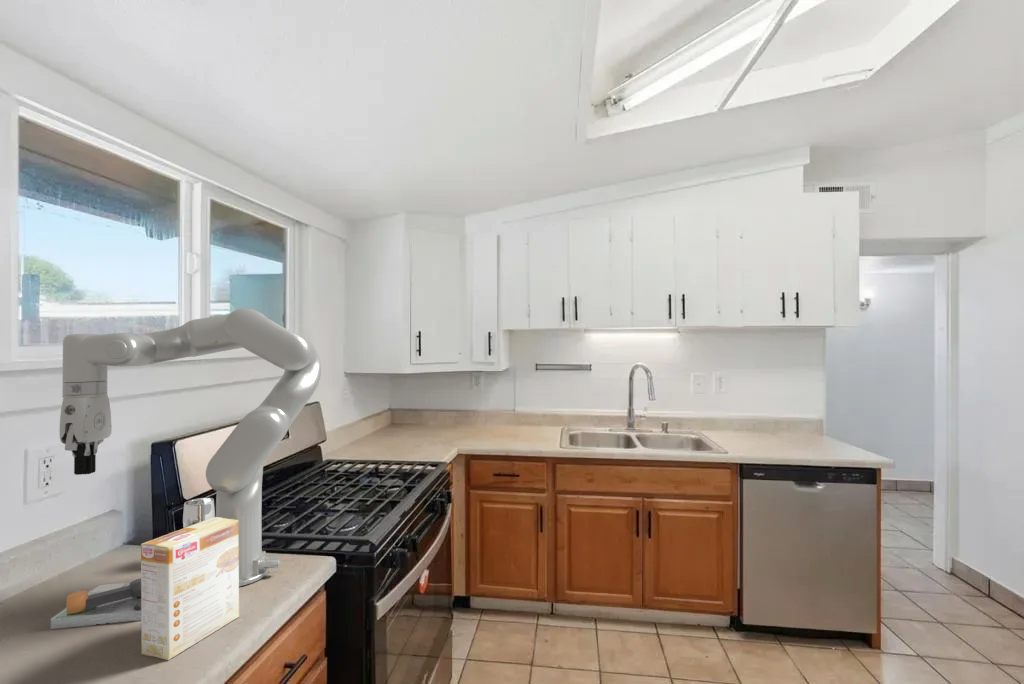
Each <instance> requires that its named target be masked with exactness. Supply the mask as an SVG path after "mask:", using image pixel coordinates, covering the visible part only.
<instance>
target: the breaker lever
mask: <svg viewBox="0 0 1024 684" xmlns="http://www.w3.org/2000/svg"><path fill="white" fill-rule="evenodd" d="M129 583H130V585H129V586H125V587H121V588H117V589H113V590H109V591H105V592H101V593H97V594H93V595H89V596H88V592H89V590H86V589H85V590H84V589H83V590H77V591H74V592H73V591H72V592H71V593H69V594H67V595H66V608H67V613H69V614H71V613H77V612H80V611H83V610H85V609H88V608H92V607H95V606H99V605H103V604H107V603H111V602H114V601H118V600H122V599H126V598H130V597H139V596H141V577H140V578H137V579H134V580H132V581H130V582H129Z"/></svg>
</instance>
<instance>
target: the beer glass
mask: <svg viewBox="0 0 1024 684" xmlns="http://www.w3.org/2000/svg"><path fill="white" fill-rule="evenodd" d="M213 517H216V507H215V499H214V498H213V497H200V498H194V499H189V500H187V501H185V502H184V504H183V514H182V524H183V526H182V527H183V528H186V527H189V526H191V525H194V524H197V523H199V522H202V521H204V520H207V519H210V518H213ZM183 528H182V529H183Z"/></svg>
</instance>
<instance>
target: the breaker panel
mask: <svg viewBox="0 0 1024 684" xmlns="http://www.w3.org/2000/svg"><path fill="white" fill-rule="evenodd" d="M130 583H131V582H120V583H119V582H118V583H110V584H109V583H108V584H100V585H96V586H95V587H93V589H90V590H88V596H89V595H93V594H97V593H101V592H105V591H109V590H113V589H117V588H121V587H125V586H129V585H130ZM140 601H141V596H139V597H130V598H126V599H122V600H118V601H114V602H111V603H107V604H103V605H99V606H95V607H92V608H88V609H85V610H83V611H80V612H77V613H71V614H69V613H67V607H65V608H64V609H63V610H61V611H59V612H58V613H57V614H56V615H54V616H53V617H51V618H50V630H58V629H59V630H60V629H68V628H78V627H88V626H89V627H90V626H97V625H96V624H100V625H107V624H106V623H110V624H117V623H119V624H120V623H127V622H137V621H140V622H141V609H140V610H138V611H136V610H134V606H135V605H136V604H137V603H138V602H140Z"/></svg>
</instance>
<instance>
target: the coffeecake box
mask: <svg viewBox="0 0 1024 684" xmlns="http://www.w3.org/2000/svg"><path fill="white" fill-rule="evenodd" d="M140 568H141V569H140V578H141V620H140V622H141V631H140V632H141V639H140V640H141V655H144V656H148V657H155V658H158V659H162V660H164V661H171V660H172V658H175V657H176V656H178V655H180V654H181V653H182V652H184V651H186V650H188V649H189V648H190V647H193V646H194V645H196V644H197V643H199V642H200V641H202V640H204V639H206V638H207V637H208V636H210V635H212V634H214V633H215V632H217V631H218V630H220V629H221V628H223V627H225V626H226V625H228V624H230V623H231V622H233V621H235V620H236V619H238V618H240V586H239V550H238V520H234V519H226V518H221V517H216V516H215V517H213V518H210V519H207V520H204V521H202V522H199V523H197V524H194V525H191V526H189V527H186V528H181V529H179V530H175V531H172V532H169V533H168V534H165V535H161V536H159V537H156V538H154V539H151V540H148V541H145V542H143V543H141V544H140Z"/></svg>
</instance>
